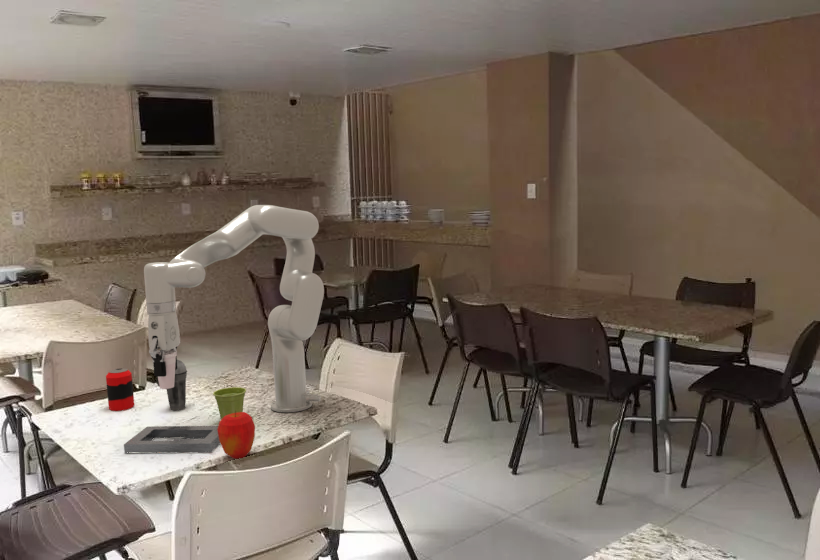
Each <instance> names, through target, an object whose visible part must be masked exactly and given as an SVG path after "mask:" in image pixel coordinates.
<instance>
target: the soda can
mask: <svg viewBox="0 0 820 560" xmlns="http://www.w3.org/2000/svg"><path fill="white" fill-rule="evenodd" d="M132 374H133V373H132V371H130V370H129V369H128V368H124V367H123V368H115V369H111V370H108V373H106V375H105V381H106V383H105V384H106V393H107V404H108V409H109V410H110V411H111V412H121V411H122V410H123V411H127V410H130V409H133V408H134V406H135V397H134V395H135V394H134V386H133V375H132ZM123 411H122V412H123Z"/></svg>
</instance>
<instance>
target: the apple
mask: <svg viewBox="0 0 820 560" xmlns="http://www.w3.org/2000/svg"><path fill="white" fill-rule="evenodd" d="M217 426H218V429H217V430H218V436H219V441H220V445H221V448H222V450H223V452H224V454H225V455H227V456H229V457H230V458H232V459H233V460H234V459H243V458H245V457H246V456H247V455H248V454H249V453H250V452H251V451H252V448H253V444H254V441H255V438H256V437H255V436H256V435H255V434H256V425H255V422H254V420H253V417H252V416H251V415H250V414H248V413H247V412H245V411H243V412H238V413H236V411H235V413H232V414H229V415H226V416H224V417H223V418H222V420H221V419H220V420H219V422H218V424H217Z"/></svg>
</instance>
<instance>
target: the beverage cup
mask: <svg viewBox="0 0 820 560" xmlns="http://www.w3.org/2000/svg"><path fill="white" fill-rule="evenodd" d="M186 366H187V365H185V363H184V362H183V361H181V360H180V359H177V370H175V380H174V387H173V388H169V389H166V394H167V399H168V405H169V410H170V411H173V412H178V411H182V410H183V411H184V410H185V409H186V402H187V401H186V399H187V397H186V396H187V395H186V394H187V374H188V373H187V372H188V370H187V367H186Z"/></svg>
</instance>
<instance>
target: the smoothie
mask: <svg viewBox="0 0 820 560" xmlns="http://www.w3.org/2000/svg"><path fill="white" fill-rule="evenodd" d="M157 354H159V355H160V357H161V353H157ZM176 356H178V351H174V350H169V351H165V355H164V361H166V376H164V377H157V380H158V385H159V388H160V389H161V390H167V389H169V388H173V387H174V380H175V362H176Z"/></svg>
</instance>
